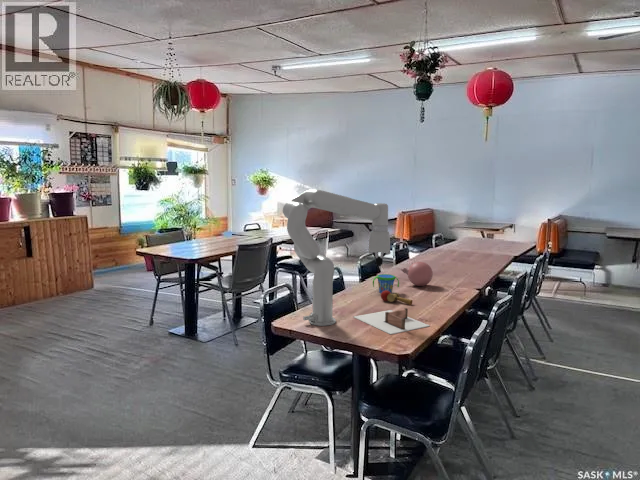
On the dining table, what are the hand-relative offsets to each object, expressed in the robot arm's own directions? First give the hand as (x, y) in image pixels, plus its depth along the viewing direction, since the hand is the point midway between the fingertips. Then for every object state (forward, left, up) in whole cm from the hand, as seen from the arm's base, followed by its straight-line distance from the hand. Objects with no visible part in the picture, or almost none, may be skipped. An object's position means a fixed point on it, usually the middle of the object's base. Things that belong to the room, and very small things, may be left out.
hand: (379, 265), depth 233 cm
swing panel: (+3, -12, -24) cm, 27 cm away
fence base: (-4, -18, -25) cm, 31 cm away
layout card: (-1, -12, -25) cm, 28 cm away
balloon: (+59, +39, -25) cm, 75 cm away
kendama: (+23, +14, -26) cm, 37 cm away
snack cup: (+31, +34, -25) cm, 53 cm away
